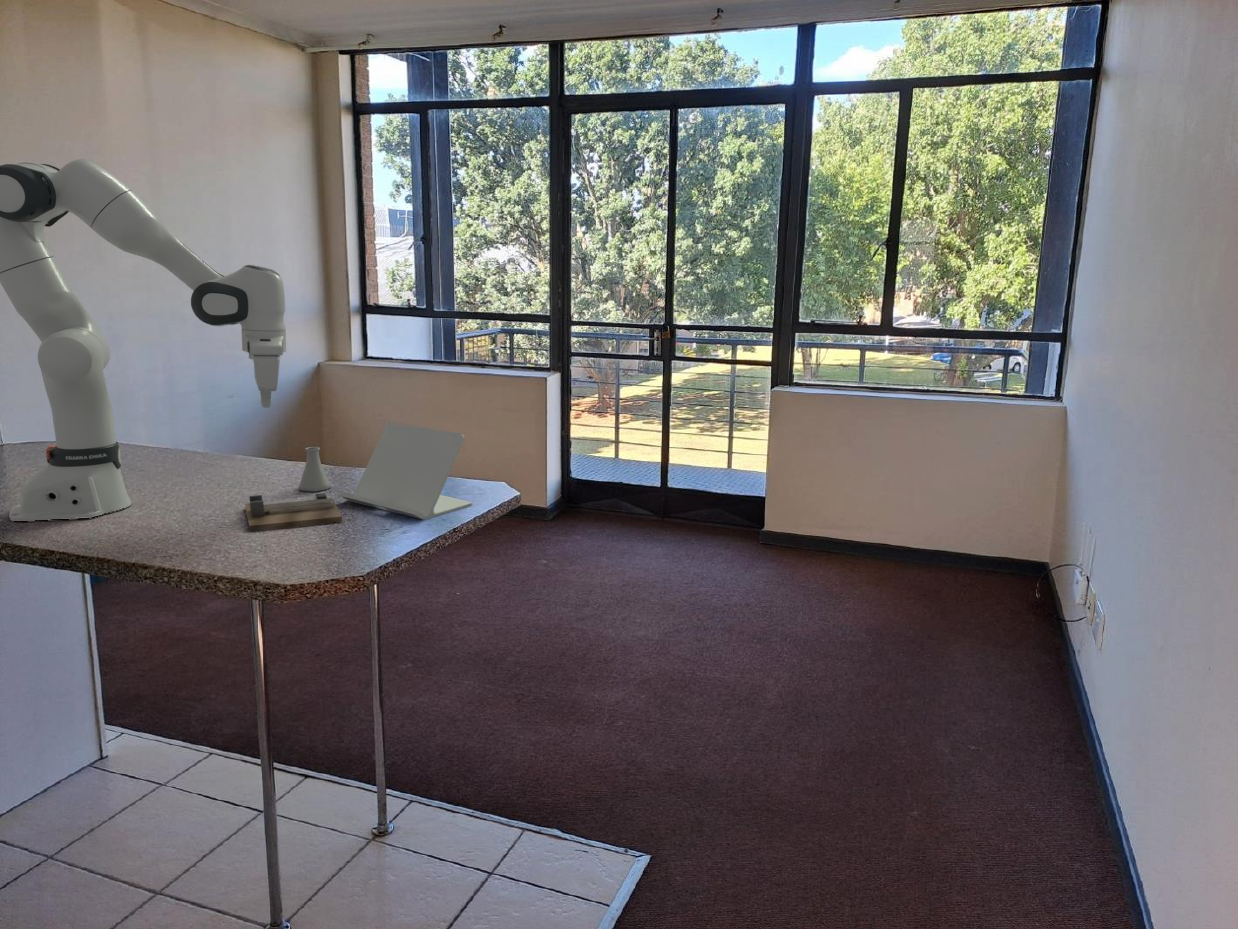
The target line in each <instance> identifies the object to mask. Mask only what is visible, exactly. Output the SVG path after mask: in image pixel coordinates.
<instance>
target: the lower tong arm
mask: <svg viewBox="0 0 1238 929" xmlns="http://www.w3.org/2000/svg"><path fill="white" fill-rule="evenodd" d="M253 500H260V501H253ZM252 501H253V502H252ZM263 502H264V500H263V495H262V494H255V495H249V503H250V509H251V512H252V517H262V516H264V504H263ZM332 507H333V502H332V503H323V504H313V505H303V506H292V507H282V508H272V509H269V514H271V513H281V512H291V511H301V510H311V509H322V508H332Z"/></svg>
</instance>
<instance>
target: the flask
mask: <svg viewBox="0 0 1238 929" xmlns="http://www.w3.org/2000/svg"><path fill="white" fill-rule="evenodd" d="M304 450H305V452H306V462H305V466H304V469H303V472H302V477H301V480H300V483H299V485H298V489H299V490H300V491H303V492H313V493H314V492H319V491H325V489H326V490H328V489H330V488H332V484H331V483H330V480H329V478H328V477H327V475H326V472H325V470H324V467H323V465H322V463H321V458H320V450H321V448H320V447H319V446H309V447H305V448H304Z"/></svg>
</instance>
